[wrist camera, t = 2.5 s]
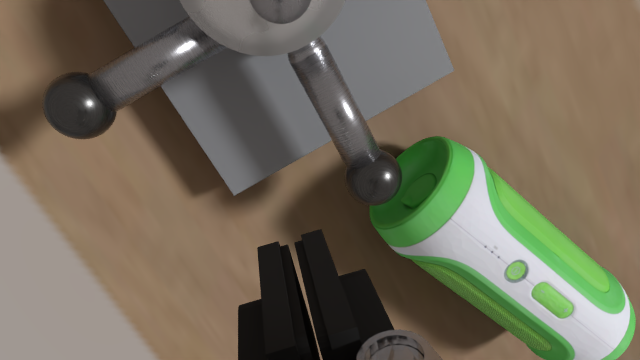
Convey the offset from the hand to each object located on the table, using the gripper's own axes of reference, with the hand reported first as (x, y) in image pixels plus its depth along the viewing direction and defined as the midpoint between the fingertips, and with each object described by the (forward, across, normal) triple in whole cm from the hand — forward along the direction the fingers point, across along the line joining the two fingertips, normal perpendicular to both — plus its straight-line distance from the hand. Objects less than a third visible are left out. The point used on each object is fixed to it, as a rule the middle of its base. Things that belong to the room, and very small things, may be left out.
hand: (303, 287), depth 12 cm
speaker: (+17, -12, +11) cm, 24 cm away
